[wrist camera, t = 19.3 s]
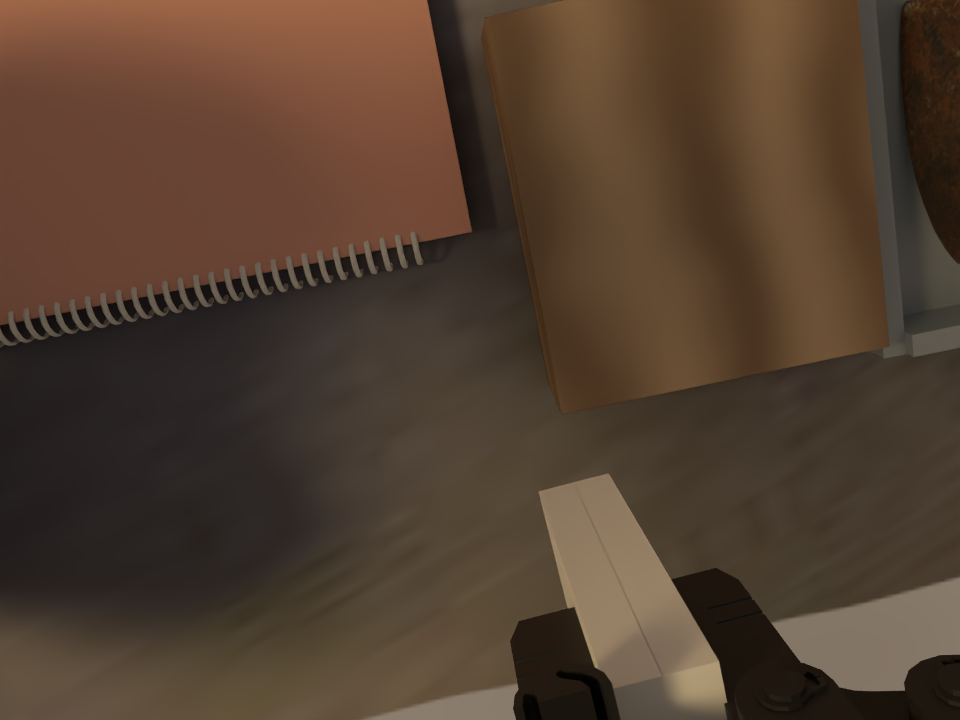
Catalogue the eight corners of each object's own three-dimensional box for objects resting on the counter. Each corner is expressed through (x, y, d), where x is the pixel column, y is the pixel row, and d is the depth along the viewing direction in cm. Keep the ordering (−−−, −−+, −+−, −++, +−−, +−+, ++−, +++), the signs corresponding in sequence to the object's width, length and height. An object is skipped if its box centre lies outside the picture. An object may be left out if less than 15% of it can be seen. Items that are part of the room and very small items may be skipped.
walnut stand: (548, 384, 39) (561, 414, 35) (481, 38, 36) (485, 17, 31) (835, 324, 39) (889, 346, 34) (797, -31, 35) (851, -63, 31)
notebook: (-87, 362, 39) (-116, 373, 37) (-224, -13, 35) (-264, -24, 33) (475, 251, 38) (476, 256, 36) (399, -141, 35) (396, -160, 33)
